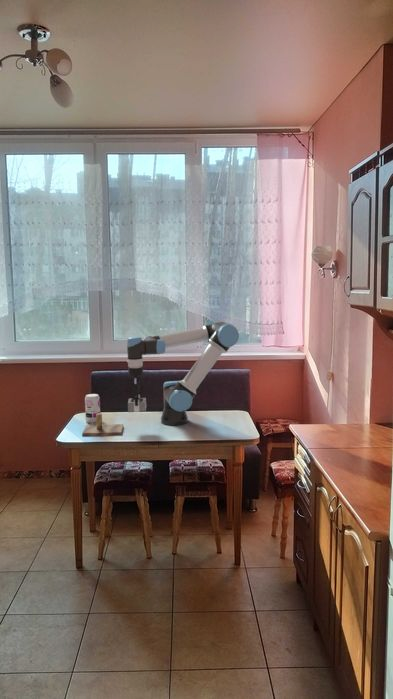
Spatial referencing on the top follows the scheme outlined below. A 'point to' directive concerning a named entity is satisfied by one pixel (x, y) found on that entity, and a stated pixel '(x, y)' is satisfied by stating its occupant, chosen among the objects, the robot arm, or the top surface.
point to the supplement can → (92, 407)
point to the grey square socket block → (141, 405)
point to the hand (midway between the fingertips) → (137, 409)
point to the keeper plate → (102, 428)
